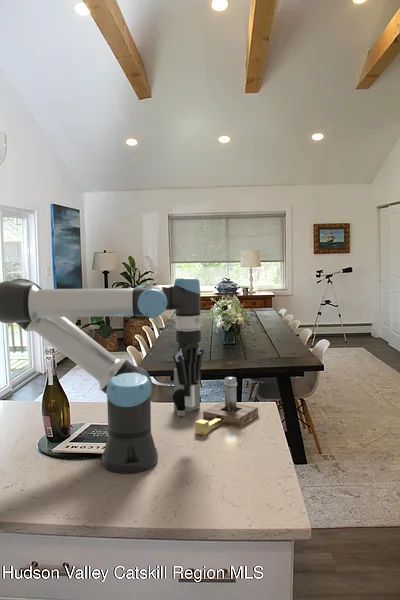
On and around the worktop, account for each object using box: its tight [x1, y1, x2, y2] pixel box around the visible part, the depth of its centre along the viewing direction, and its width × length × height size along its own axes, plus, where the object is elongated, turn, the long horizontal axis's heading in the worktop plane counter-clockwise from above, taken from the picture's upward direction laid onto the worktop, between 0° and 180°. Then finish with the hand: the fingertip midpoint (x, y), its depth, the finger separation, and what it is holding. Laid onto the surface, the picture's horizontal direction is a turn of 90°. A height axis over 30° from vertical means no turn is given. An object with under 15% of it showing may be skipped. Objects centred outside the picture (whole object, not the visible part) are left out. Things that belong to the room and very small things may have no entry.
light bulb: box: [171, 389, 186, 418], centre depth 167 cm, size 6×6×10 cm
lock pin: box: [194, 418, 223, 437], centre depth 155 cm, size 12×3×4 cm, turn 146°
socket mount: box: [202, 400, 259, 428], centre depth 166 cm, size 14×14×3 cm
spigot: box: [223, 376, 238, 413], centre depth 166 cm, size 5×5×14 cm
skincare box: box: [173, 368, 201, 414], centre depth 175 cm, size 8×7×16 cm
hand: (189, 405), depth 145 cm, fingers closed
